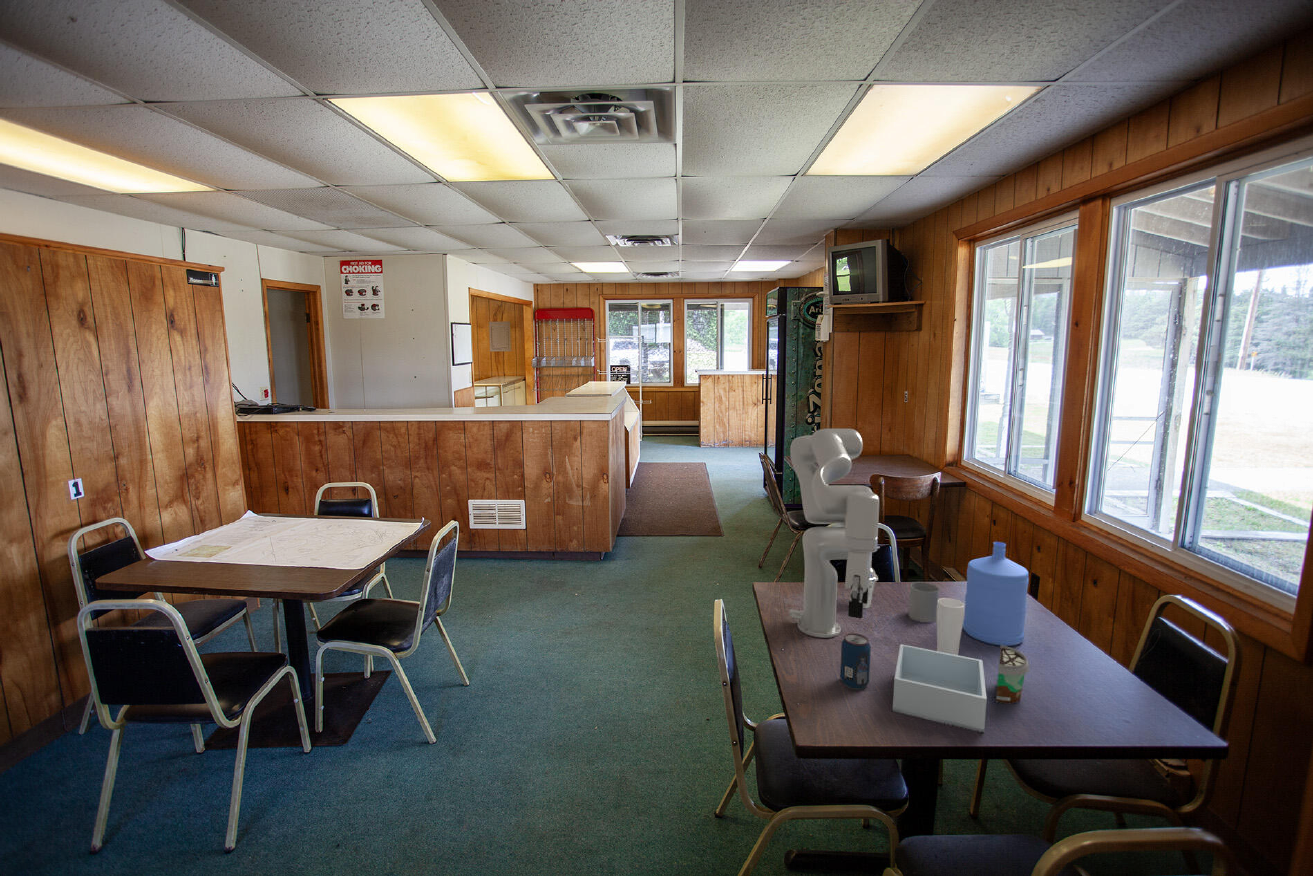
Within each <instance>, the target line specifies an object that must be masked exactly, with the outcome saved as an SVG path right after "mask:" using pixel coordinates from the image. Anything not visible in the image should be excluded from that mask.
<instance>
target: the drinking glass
mask: <svg viewBox="0 0 1313 876" xmlns="http://www.w3.org/2000/svg"><path fill="white" fill-rule="evenodd" d="M964 616H965V603H963V601H961V600H958V599H955V598H952V597H951V598H950V597H942V598H939V599H938V601H937V611H936V651H938V652H943V653H948V654H954V655H959V651H960V643H961V638H962V631H963V621H964Z"/></svg>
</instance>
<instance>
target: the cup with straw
mask: <svg viewBox="0 0 1313 876" xmlns="http://www.w3.org/2000/svg"><path fill="white" fill-rule="evenodd" d="M880 548H881V547H880V546H879V545H877V550H879V549H880ZM877 581H879V576H878V575H877V574H876V571H875V569H874V568H873V567H871V575H870V581H869V585H868V587H867V588H868V602H867V604H864V603H863V609H869V608H871V603H872V599H873V594H874V587H875V585H876V582H877Z"/></svg>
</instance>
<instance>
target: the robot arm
mask: <svg viewBox="0 0 1313 876" xmlns="http://www.w3.org/2000/svg"><path fill="white" fill-rule="evenodd" d="M863 446H864V444H863V438H862V436H861V434H860V433H859V431H857V430H856V429H852V428H821V429H818V430H816V431H814V432H813V433H812V434H810V435H802V436H798V437H795V438H794V439H793V440H792V441H791V444H790V447H789V448H790V449H789V450H790V461H791V464H792V467H793V470H794V472H795V474H796V476H797V479H798V482H799V486H800V487H799V488H800V495H801V502H802V503H801V504H802V509H803V515H804V517H805V518H804V519H805V520H806V521H807V522H808V523H810V524H813V525H814V524H815V525H840V526H814V527H810V528H808V529H806V530H805V531H804V532H803V535H802V547H803V556H804V558H803V559H804V582H803V584H804V585H803V610H802V609H801V610H796V609H789V612H788V614H789V615H788V616H790V617H791V619H792V620H797V628H798V629H799V631H800V632H802V633H803V634H805V635H808V636H810V637H813V638H814V637H815V638H821V639H823V638H824V639H825V638H832V637H837V636H839V635H840V634H841V630H842V628H841V625H840V623H838V622H837V619H836V618H837V600H838V599H837V598H838V597H837V596H838V572H837V570H836V568H835V567H834V566H833V565H832V563H831V562H830V561H831V560H846V569H845V571H846V572H845V580H844V581H845V582H844V589H845V590H846V591H848V590H850V592H849V599H848V609H847V610H848V612H847V613H848V614H847V615H848V617H850V618H855V619H862V618H863V612H864V608H863V603H864V604H867V602H868V588H867V587H868V585H869V581H870V575H871V568H872V562H873V561H872V560H873V559H872V556H873V553H875V552H877V551H878V549H877V547H878V543H879V542H878V538H879V519H880V518H879V515H880V497H879V495H877V494H876V493H874V492H873V491H872V489H871V488H870V487H869V486H866V485H859V484H858V485H855V484H854V485H847V484H846V485H844V484H843V485H842V484H841V485H839V484H837V485H833V484H832V483H834V482H836V481H839V480H841V479H843V478H845V477H846V476H847V475H848V474H849V473H850V472H851V469H852V466H853V465H852V460H854V459H856V458H858V457H859V456H860V455H861V453H862V451H863V449H864V448H863ZM815 463H816V464H817V465H818V466H817V465H816V464H815ZM829 484H830V485H829ZM831 484H832V485H831Z"/></svg>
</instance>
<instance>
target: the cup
mask: <svg viewBox="0 0 1313 876" xmlns="http://www.w3.org/2000/svg"><path fill="white" fill-rule="evenodd" d="M909 585H910V587H909V604H908V605H909V606H908V617H909V616H910V617H911V618H910V617H909V618H910V619H912V618H913V619H915V620H914V621H916V620H918V621H921V622H920V623H923V622H934V623H937V621H936V611H937V601H938V599H940V587H939V586H937V585H935V584H933V583H929V582H923V581H921V582H920V581H916V582H911V584H909ZM913 619H912V620H913ZM918 621H917V622H918Z"/></svg>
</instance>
